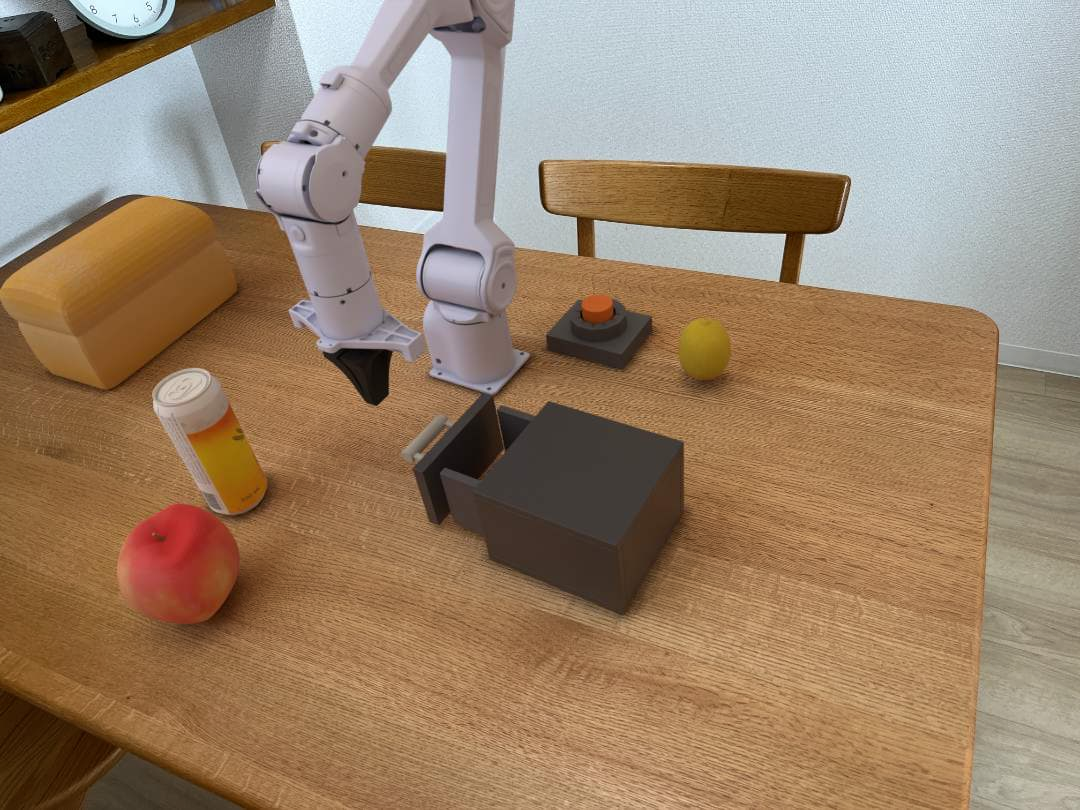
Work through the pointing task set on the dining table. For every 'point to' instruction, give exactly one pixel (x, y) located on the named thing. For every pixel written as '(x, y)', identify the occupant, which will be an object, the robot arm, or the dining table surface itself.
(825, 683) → the dining table surface
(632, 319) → the block
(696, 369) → the lemon
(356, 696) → the dining table surface
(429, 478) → the drawer
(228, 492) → the beer can
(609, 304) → the button
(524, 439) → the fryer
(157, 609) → the apple
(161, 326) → the bread
